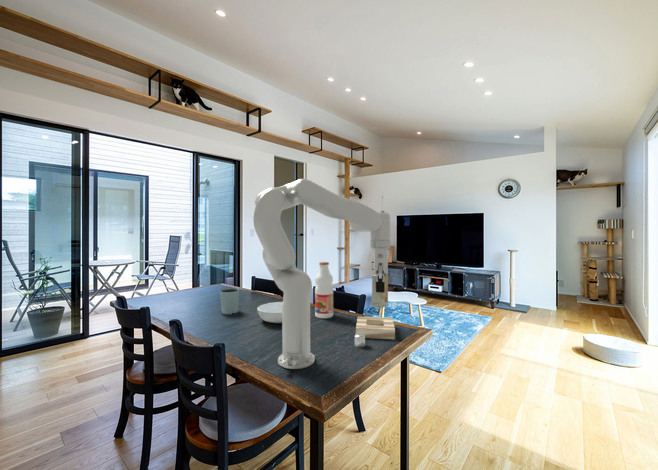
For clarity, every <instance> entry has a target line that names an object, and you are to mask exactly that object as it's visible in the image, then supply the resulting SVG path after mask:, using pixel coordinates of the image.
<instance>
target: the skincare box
mask: <svg viewBox="0 0 658 470" xmlns="http://www.w3.org/2000/svg"><path fill="white" fill-rule="evenodd" d="M376 281H377V273H376V274H373V275H371V307H373V308H377V309H378V308H379V309H383V308H385V307H387V306H388V304H389V299H388V298H389V275H388V274H387V275H386V274H385V273H384V282H385V292H384V293H382V292H376ZM382 282H383V281H382Z"/></svg>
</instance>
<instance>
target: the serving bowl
mask: <svg viewBox="0 0 658 470" xmlns="http://www.w3.org/2000/svg"><path fill="white" fill-rule="evenodd" d="M282 304H283V301H276V302H275V301H274V302H269V303H265V304H261V305H259V306H257V308H256V309H257V314H258V316H259V317H260V318H261V320H263V321H265V322H268V323H273V324H282Z"/></svg>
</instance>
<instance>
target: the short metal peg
mask: <svg viewBox="0 0 658 470" xmlns="http://www.w3.org/2000/svg"><path fill="white" fill-rule="evenodd" d="M354 346H355V347H356V348H364V347H366V338H365V335H364V334H361V333H358V334H356V333H355V334H354Z"/></svg>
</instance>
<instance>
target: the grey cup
mask: <svg viewBox="0 0 658 470" xmlns="http://www.w3.org/2000/svg"><path fill="white" fill-rule="evenodd" d="M219 297H220V305H221V307H220V308H221V314H222V313H223V315H233V314H232V313H235V314H237V313H239V308H240V307H239V306H240V305H239V302H240V301H239V298H240V288H224V289H221V290H219ZM236 312H237V313H236Z"/></svg>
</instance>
